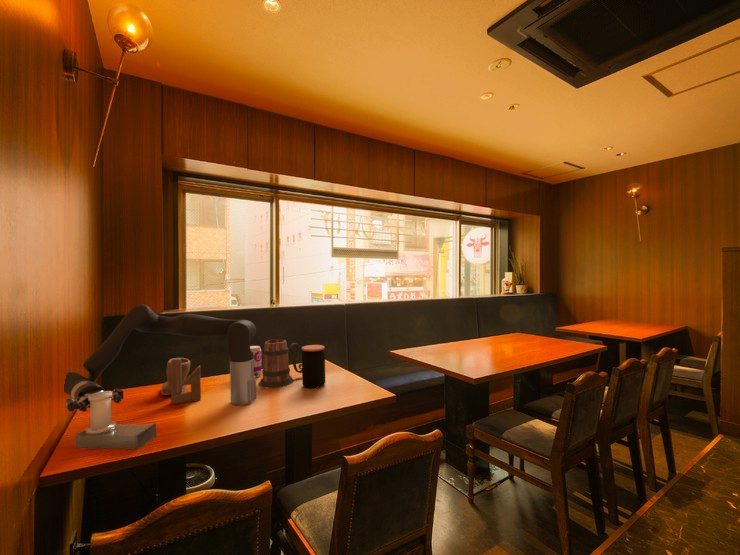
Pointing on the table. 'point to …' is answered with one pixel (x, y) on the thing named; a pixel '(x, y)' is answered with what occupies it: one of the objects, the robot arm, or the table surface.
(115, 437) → the grey soap dish block
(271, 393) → the table surface
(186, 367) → the stone cup
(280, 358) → the tankard
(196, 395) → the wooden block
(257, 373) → the supplement can
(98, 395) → the white flanged cylinder
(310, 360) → the coffee jar
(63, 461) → the table surface
